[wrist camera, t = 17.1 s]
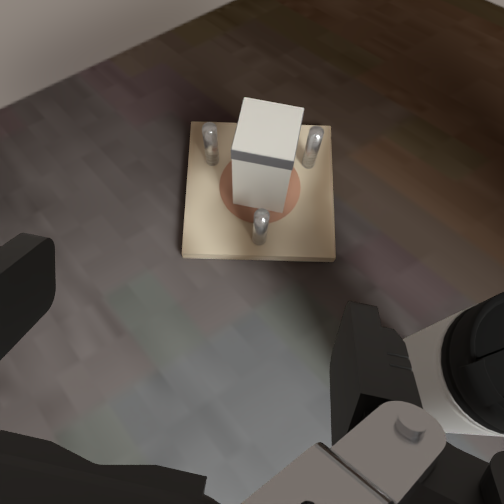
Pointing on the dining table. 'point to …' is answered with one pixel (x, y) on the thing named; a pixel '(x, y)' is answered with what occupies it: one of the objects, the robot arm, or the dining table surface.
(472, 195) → the dining table surface
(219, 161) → the pin cradle
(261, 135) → the block
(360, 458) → the robot arm
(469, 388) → the travel mug
